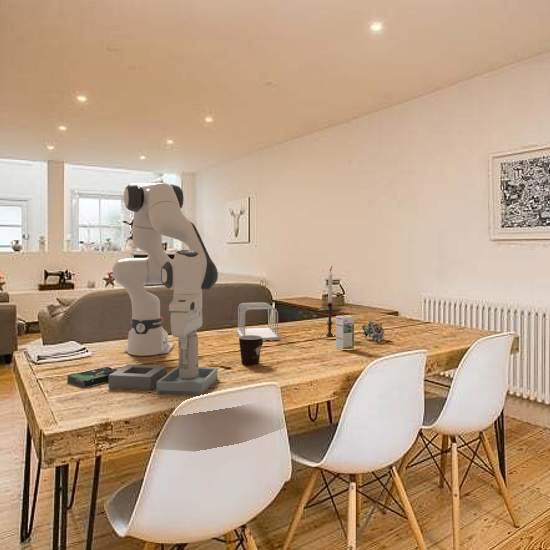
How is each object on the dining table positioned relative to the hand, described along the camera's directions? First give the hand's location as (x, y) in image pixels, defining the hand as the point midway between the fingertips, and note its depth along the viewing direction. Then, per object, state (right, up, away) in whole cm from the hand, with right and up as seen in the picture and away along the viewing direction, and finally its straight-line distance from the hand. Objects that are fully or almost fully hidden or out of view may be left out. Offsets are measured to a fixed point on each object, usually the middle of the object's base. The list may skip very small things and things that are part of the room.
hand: (188, 346), depth 151 cm
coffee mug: (+19, -11, +30) cm, 38 cm away
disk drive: (-31, -13, +7) cm, 35 cm away
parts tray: (0, -13, +1) cm, 13 cm away
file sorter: (+19, -8, +84) cm, 86 cm away
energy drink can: (0, -11, +1) cm, 11 cm away
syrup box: (+57, -10, +55) cm, 80 cm away
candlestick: (+54, -8, +80) cm, 97 cm away
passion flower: (+73, -9, +74) cm, 104 cm away
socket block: (-17, -12, +4) cm, 21 cm away
